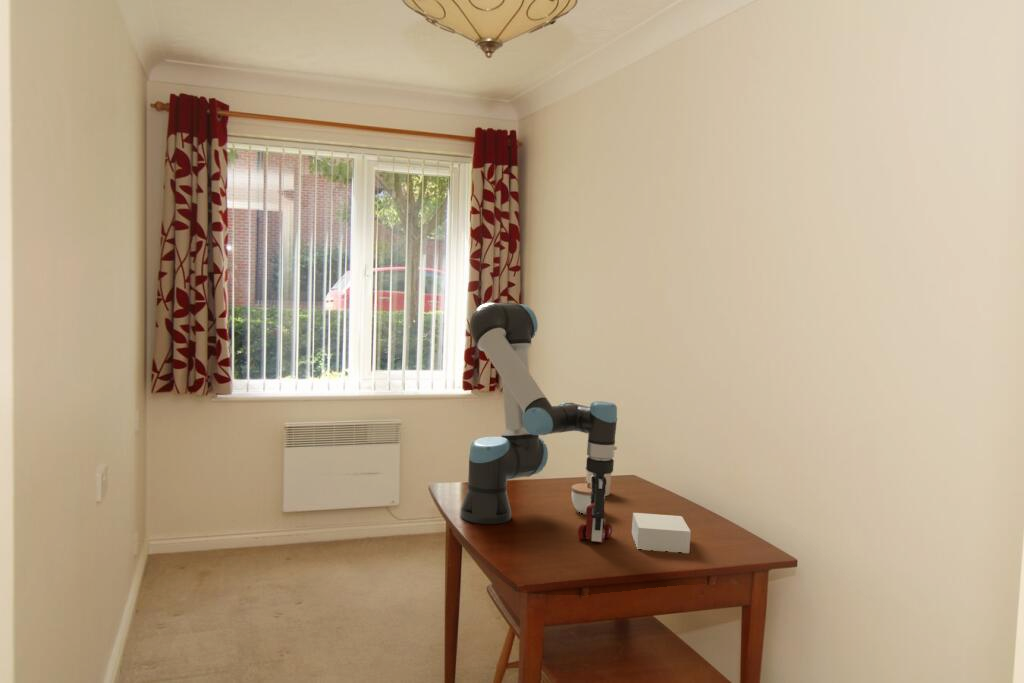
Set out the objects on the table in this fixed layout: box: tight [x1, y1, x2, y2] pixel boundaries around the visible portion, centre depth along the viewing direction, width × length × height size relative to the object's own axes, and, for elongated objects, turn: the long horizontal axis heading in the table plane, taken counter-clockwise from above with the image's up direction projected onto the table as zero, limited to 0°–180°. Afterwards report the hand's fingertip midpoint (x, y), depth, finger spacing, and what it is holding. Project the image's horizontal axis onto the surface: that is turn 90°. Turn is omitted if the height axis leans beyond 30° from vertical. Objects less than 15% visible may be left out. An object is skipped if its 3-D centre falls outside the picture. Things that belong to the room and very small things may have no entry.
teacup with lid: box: [584, 468, 612, 497], centre depth 257 cm, size 12×9×12 cm
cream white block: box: [631, 512, 692, 554], centre depth 210 cm, size 14×14×6 cm
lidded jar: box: [571, 482, 606, 515], centre depth 235 cm, size 11×11×9 cm
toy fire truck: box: [577, 503, 613, 544], centre depth 210 cm, size 7×12×10 cm, turn 153°
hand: (595, 533), depth 211 cm, fingers closed on toy fire truck, 11 cm apart
